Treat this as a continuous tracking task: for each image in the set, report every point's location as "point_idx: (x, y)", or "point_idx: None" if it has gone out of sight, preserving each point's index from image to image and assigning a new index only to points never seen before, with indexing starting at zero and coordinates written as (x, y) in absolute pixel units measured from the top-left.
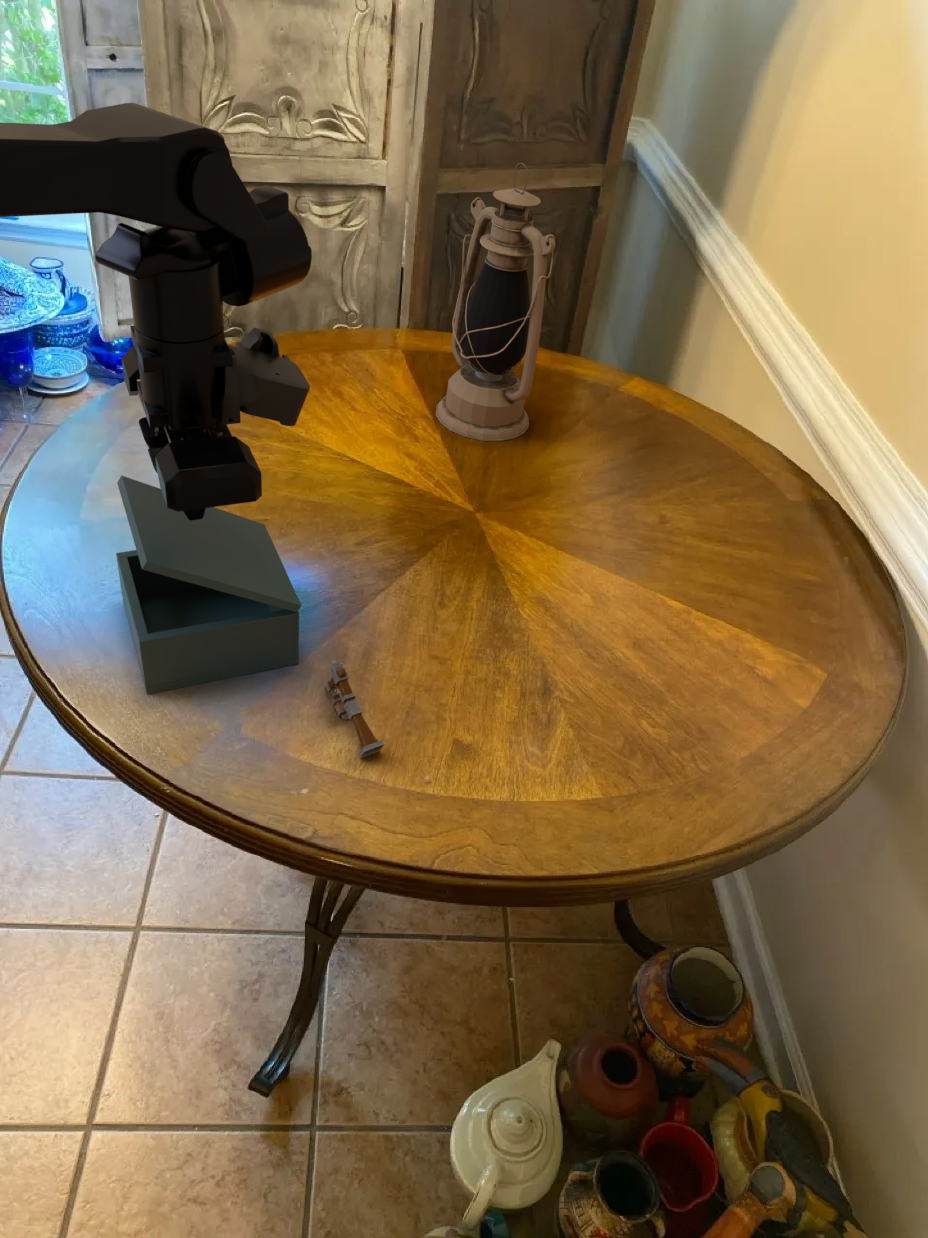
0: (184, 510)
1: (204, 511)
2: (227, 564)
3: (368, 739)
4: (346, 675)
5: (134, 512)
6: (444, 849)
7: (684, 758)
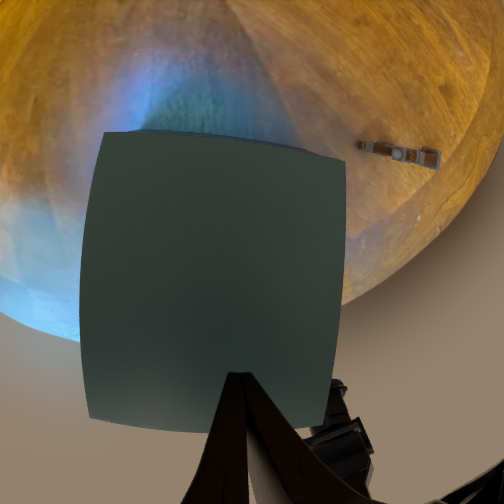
0: (459, 487)
1: (262, 387)
2: (285, 284)
3: (433, 160)
4: (410, 151)
5: (196, 430)
6: (480, 165)
7: (480, 3)
